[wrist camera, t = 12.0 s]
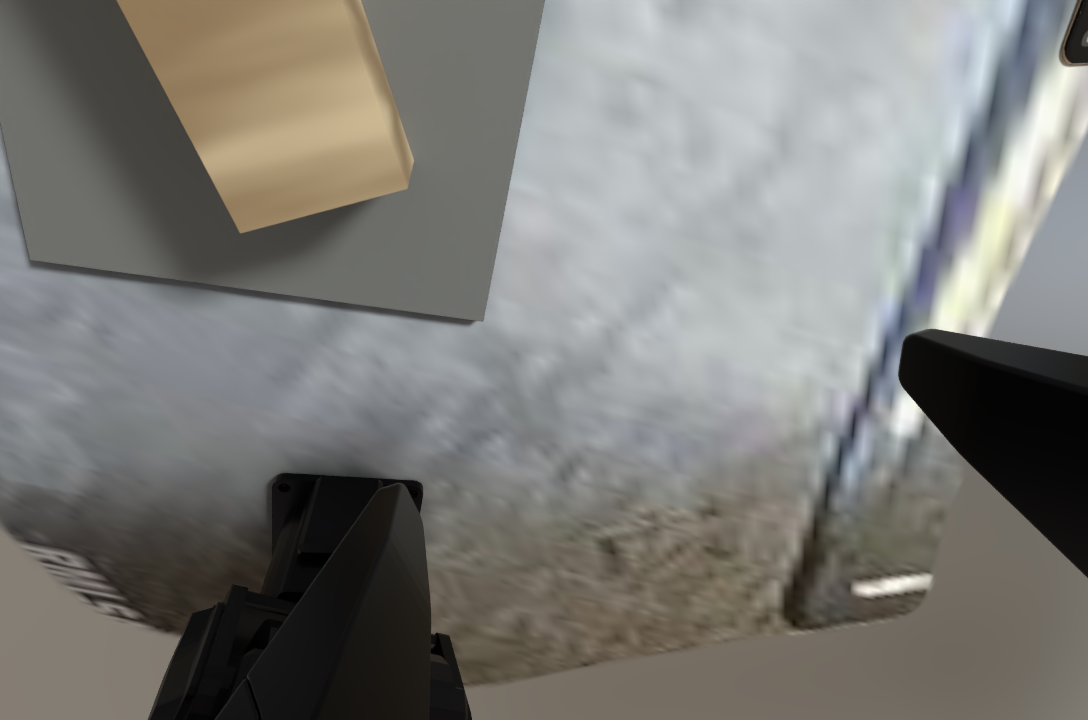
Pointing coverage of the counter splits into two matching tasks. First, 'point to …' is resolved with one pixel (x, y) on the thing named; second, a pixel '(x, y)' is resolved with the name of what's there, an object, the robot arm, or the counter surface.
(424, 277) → the mat
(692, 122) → the counter surface
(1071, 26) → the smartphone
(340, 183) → the block
